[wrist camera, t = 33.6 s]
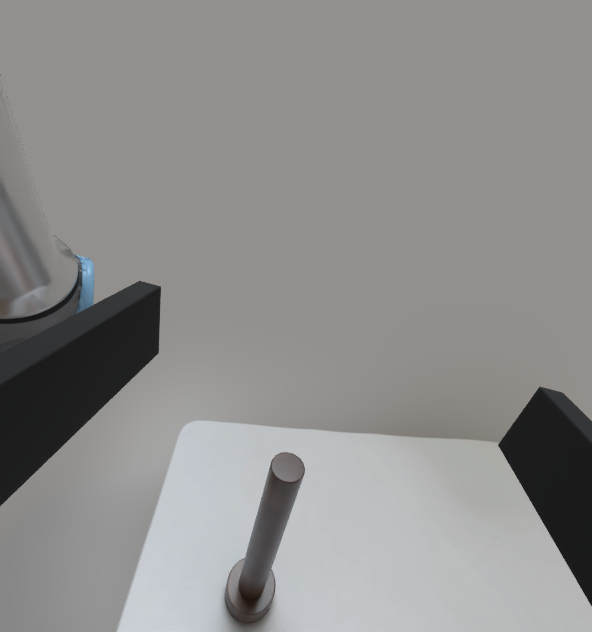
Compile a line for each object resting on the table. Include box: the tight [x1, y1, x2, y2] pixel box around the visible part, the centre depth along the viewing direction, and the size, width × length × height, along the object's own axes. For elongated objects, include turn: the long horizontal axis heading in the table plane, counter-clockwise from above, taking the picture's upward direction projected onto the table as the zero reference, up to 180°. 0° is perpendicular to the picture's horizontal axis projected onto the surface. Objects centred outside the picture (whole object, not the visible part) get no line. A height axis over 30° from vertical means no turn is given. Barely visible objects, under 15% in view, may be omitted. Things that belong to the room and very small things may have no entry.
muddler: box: [225, 452, 305, 623], centre depth 25 cm, size 4×4×18 cm
